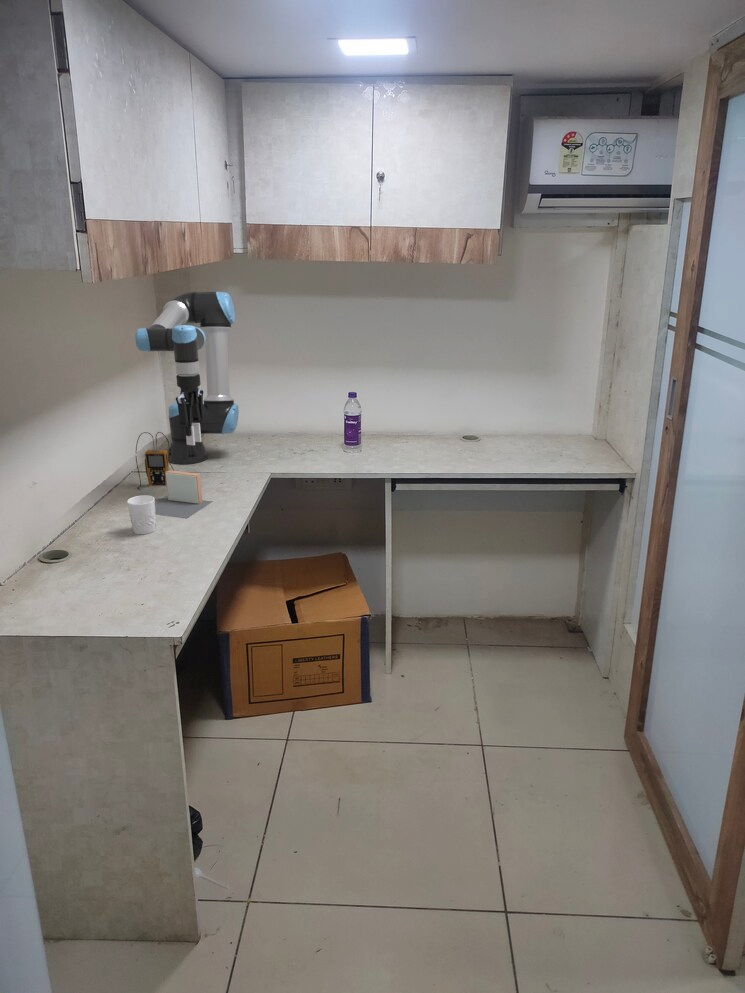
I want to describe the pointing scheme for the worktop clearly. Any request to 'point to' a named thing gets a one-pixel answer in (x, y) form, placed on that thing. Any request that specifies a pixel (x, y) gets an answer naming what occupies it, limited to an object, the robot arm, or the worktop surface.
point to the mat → (178, 508)
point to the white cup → (142, 514)
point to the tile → (184, 487)
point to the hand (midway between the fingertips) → (194, 443)
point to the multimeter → (156, 465)
